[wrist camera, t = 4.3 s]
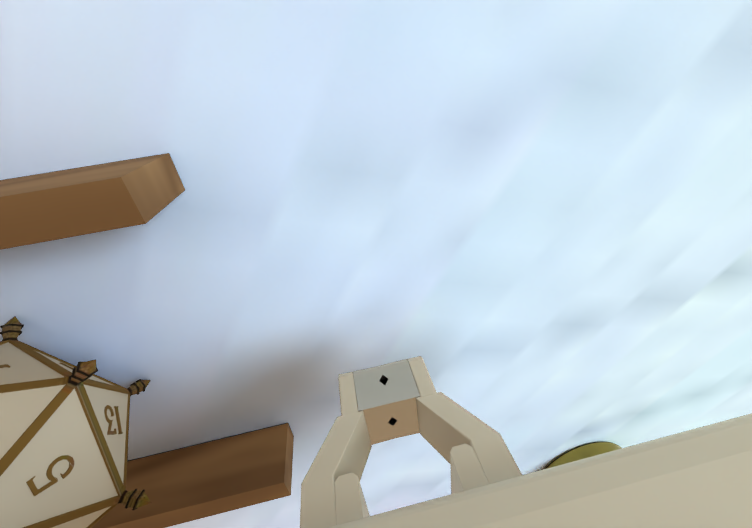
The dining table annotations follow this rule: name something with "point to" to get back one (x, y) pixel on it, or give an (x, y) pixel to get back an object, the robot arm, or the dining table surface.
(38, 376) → the game die
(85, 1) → the dining table surface
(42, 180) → the trap channel
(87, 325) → the dining table surface
